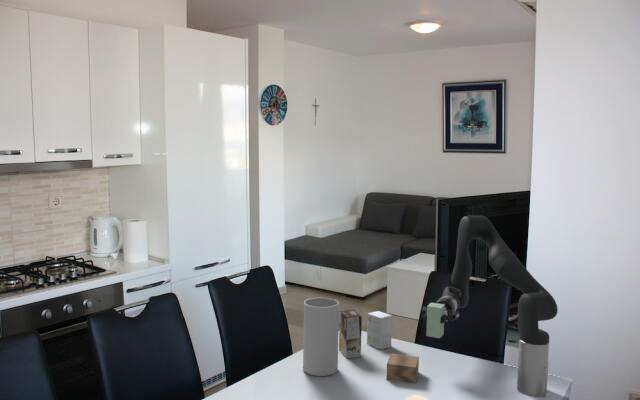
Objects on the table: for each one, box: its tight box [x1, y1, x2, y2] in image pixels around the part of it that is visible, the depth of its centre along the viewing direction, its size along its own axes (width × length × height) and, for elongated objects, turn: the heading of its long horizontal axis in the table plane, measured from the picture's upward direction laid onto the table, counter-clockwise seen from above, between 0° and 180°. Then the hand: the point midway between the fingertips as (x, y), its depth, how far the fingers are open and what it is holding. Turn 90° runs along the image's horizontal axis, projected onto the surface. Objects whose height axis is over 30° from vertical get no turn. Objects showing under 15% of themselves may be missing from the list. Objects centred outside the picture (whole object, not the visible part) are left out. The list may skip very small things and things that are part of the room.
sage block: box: [425, 302, 445, 339], centre depth 201 cm, size 5×5×11 cm
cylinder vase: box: [302, 297, 340, 377], centre depth 201 cm, size 12×12×25 cm
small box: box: [366, 310, 393, 350], centre depth 228 cm, size 8×6×13 cm
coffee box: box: [338, 309, 363, 359], centre depth 218 cm, size 9×6×16 cm
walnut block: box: [385, 353, 420, 385], centre depth 198 cm, size 10×10×6 cm
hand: (433, 319), depth 199 cm, fingers closed on sage block, 5 cm apart
